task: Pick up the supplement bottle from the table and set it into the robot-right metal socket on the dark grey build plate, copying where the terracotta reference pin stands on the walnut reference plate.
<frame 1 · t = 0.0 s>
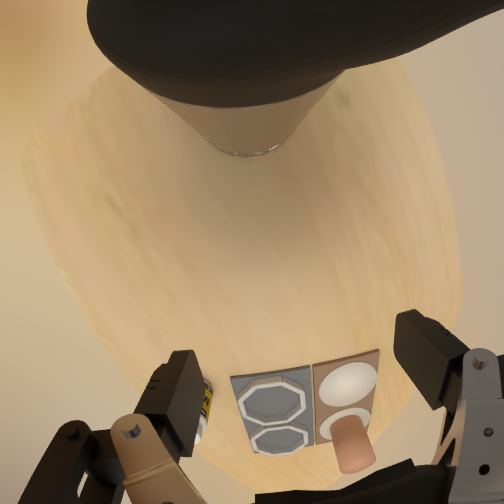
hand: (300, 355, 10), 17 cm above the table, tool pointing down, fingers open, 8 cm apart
layout board: (311, 411, 32), on the table
supplement bottle: (195, 386, 31), on the table
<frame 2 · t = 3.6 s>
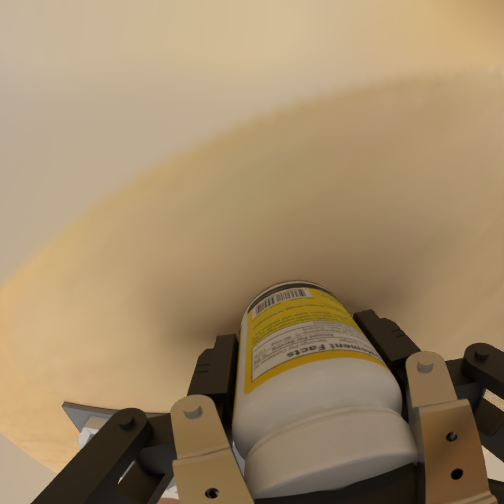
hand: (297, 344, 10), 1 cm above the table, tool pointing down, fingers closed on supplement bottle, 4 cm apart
layout board: (212, 484, 15), on the table
supplement bottle: (292, 326, 12), on the table, touching gripper
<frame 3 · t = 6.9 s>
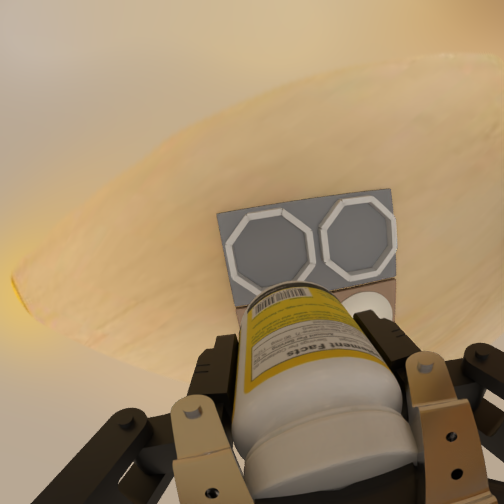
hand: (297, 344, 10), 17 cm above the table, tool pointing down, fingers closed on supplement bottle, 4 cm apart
layout board: (319, 289, 28), on the table
supplement bottle: (292, 325, 12), point 15 cm above the table, touching gripper
when the fingers open (3 cm above the table, at t = 10.2 s): supplement bottle drops 1 cm, resting on layout board.
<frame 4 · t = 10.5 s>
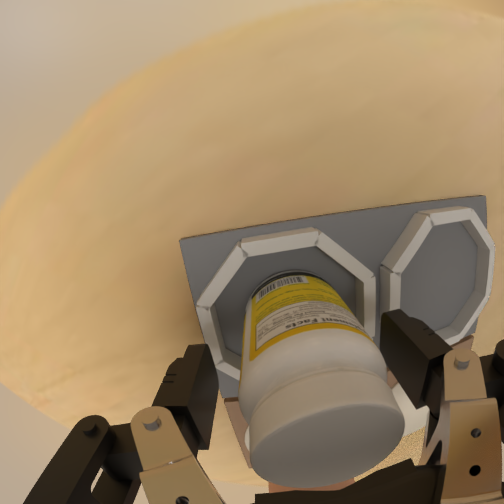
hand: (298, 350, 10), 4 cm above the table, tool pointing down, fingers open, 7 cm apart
layout board: (367, 366, 14), on the table
supplement bottle: (292, 312, 13), resting on layout board
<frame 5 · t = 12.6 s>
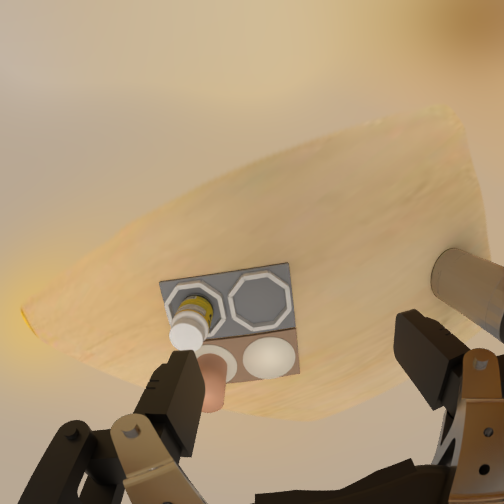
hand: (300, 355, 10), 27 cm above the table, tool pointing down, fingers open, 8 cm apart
layout board: (234, 333, 39), on the table
supplement bottle: (197, 307, 37), resting on layout board
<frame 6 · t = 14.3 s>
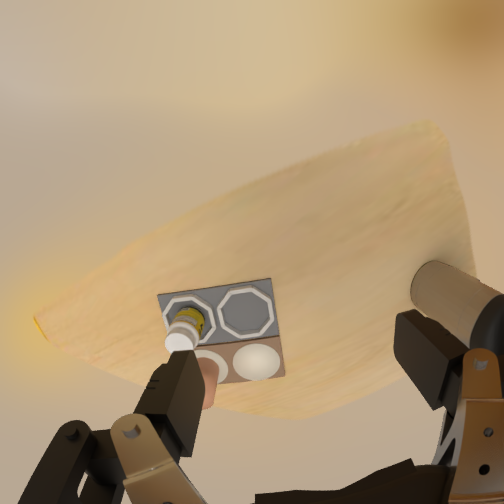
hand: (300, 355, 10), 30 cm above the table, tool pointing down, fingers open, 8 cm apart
layout board: (224, 340, 43), on the table
supplement bottle: (191, 317, 42), resting on layout board
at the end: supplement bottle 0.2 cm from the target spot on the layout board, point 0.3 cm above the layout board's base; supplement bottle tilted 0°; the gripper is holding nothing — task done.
